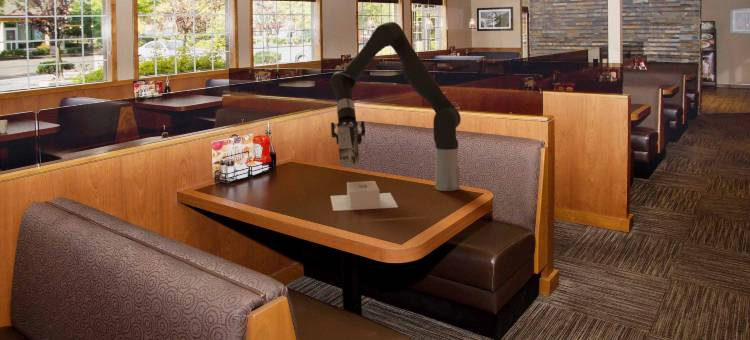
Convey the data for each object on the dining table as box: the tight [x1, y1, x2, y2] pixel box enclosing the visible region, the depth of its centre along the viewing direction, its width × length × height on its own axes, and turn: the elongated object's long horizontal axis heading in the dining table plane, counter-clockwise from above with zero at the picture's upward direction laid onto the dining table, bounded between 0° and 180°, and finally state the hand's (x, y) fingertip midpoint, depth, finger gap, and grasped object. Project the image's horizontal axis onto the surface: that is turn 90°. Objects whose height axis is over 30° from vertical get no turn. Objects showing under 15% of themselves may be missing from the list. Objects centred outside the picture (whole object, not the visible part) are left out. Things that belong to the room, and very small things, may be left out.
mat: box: [329, 192, 399, 212], centre depth 235 cm, size 24×20×1 cm
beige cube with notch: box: [346, 180, 380, 207], centre depth 234 cm, size 11×14×6 cm
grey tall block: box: [337, 124, 360, 167], centre depth 250 cm, size 9×6×16 cm
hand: (349, 144), depth 250 cm, fingers closed on grey tall block, 7 cm apart
